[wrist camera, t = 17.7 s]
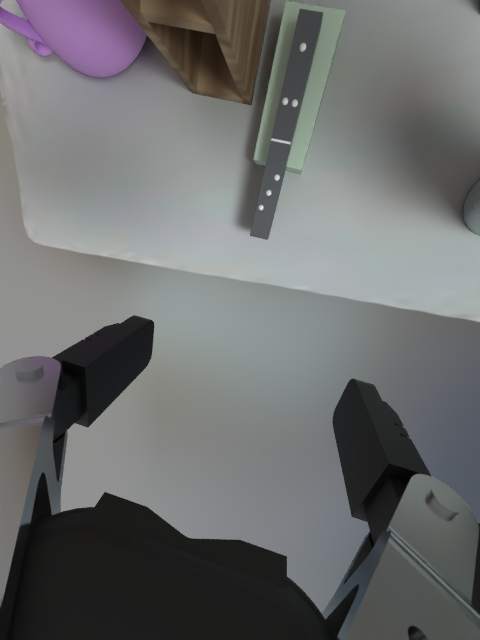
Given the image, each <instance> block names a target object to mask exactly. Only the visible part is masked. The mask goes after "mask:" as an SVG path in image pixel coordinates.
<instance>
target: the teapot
mask: <svg viewBox="0 0 480 640" xmlns="http://www.w3.org/2000/svg"><path fill="white" fill-rule="evenodd" d="M1 1H2V0H0V3H1ZM16 1H17V2H18V4H19V6H20V8H21V9H22V11H23V13H24V14H25V16H26V17H27V19H28V20H29V21H27V20H25V19H23V18H20V17H18V16H16V15H14V14H12V13H10V12H8V11H6V10H4V9H3V8H1V7H0V23H2V24H3V25H4V26H5V27H7V28H9V29H10V30H12V31H14V32H16V33H18V34H20V35H23V36H25V37H26V38H27V42H28V44H29V46H30V47H31V48H32V49H33V51H34V52H36V53H37V54H39V55H41V56H48V55H51V54H52V53H53V52H55V53H56V54H57V55H58V56H59V57H60V58H61V59H62V60H64V61H65V62H66V63H68V64H69V65H70V66H71V67H73V68H74V69H75V70H77V71H79V72H81V73H83V74H86V75H88V76H93V77H110V76H113V75H116V74H118V73H120V72H122V71H123V70H125V69H126V68H127V67H128V66H129V65H130V64H131V63H132V62H133V61H134V60H135V59H136V57H137V56H138V54H139V53H140V51H141V49H142V47H143V45H144V43H145V40H146V37H147V34H146V33H145V32H144V30H143V29H142V28H141V26H140V25H139V24H138V23H137V21H136V20H135V19H134V17H133V16H132V15H131V14H130V12H129V11H128V10H127V8H126V7H125V6H124V5H123V3H122V2H121V1H120V0H16Z"/></svg>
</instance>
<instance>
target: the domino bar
mask: <svg viewBox="0 0 480 640" xmlns="http://www.w3.org/2000/svg"><path fill="white" fill-rule="evenodd" d="M322 18H323V12H318V11H312V10H306V9H300V10H299V14H298V19H297V23H296V28H295V33H294V37H293V42H292V46H291V51H290V55H289V60H288V64H287V69H286V74H285V78H284V83H283V87H282V92H281V96H280V101H279V105H278V110H277V115H276V119H275V124H274V128H273V133H272V137H271V142H270V146H269V151H268V156H267V160H266V165H265V169H264V174H263V178H262V183H261V187H260V192H259V197H258V201H257V206H256V210H255V215H254V219H253V224H252V228H251V233H250V236H254V237H258V238H262V239H266V240H267V239H268V238H269V234H270V230H271V226H272V222H273V218H274V214H275V210H276V206H277V202H278V198H279V194H280V190H281V186H282V182H283V178H284V174H285V170H286V166H287V162H288V158H289V154H290V150H291V146H292V142H293V138H294V134H295V130H296V126H297V122H298V118H299V114H300V110H301V106H302V102H303V98H304V94H305V90H306V86H307V82H308V78H309V74H310V70H311V66H312V62H313V58H314V54H315V50H316V46H317V42H318V38H319V34H320V30H321V24H322Z"/></svg>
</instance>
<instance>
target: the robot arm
mask: <svg viewBox="0 0 480 640" xmlns="http://www.w3.org/2000/svg"><path fill="white" fill-rule="evenodd" d="M463 216H464V220H465V223H466V225H467V226H468V228H469V229H470V230H471V231H473V232H474V233H476V234H478V235H480V180H479V181H478V182H477V183H476V184H475V185H474V186H473V188H472V189H471V191H470V192H469V194H468V196H467V198H466V201H465V204H464V209H463ZM153 335H154V322H153V321H152V320H149V319H145V318H142V317H139V316H132V317H130V318H128V319H127V320H125V321H124V322H122V323H120V324H119V323H117V324H113V325H109V326H106V327H103V328H102V329H100V330H98V331H97V332H95V333H94V334H92V335H90V336H88V337H86V338H85V340H81V341H80V342H78V343H76V344H75V345H73V346H71V347H69V348H68V349H66V350H64V351H63V352H61V353H59V354H57V355H56V356H54V357H52V358H50V357H44V356H36V357H35V356H34V357H27V358H22V359H18V360H15V361H12V362H10V363H8V364H6V365H4V366H3V367H2V368H0V640H480V524H479V523H478V522H477V520H476V517H475V516H474V514H473V512H472V511H471V509H470V508H469V506H468V505H467V504H466V503H465V502H464V500H463V499H462V498H461V497H460V496H459V495H458V494H457V493H456V492H454V491H453V490H452V489H451V488H449V487H448V486H447V485H445V484H444V483H442V482H441V481H439V480H437V479H435V478H433V477H431V475H430V473H429V471H428V469H427V468H426V466H425V464H424V462H423V460H422V459H421V457H420V455H419V453H418V451H417V449H416V448H415V446H414V444H413V442H412V440H411V439H409V435H408V433H407V431H406V429H405V428H403V427H404V426H403V424H402V422H401V420H400V419H399V416H398V415H397V413H396V412H395V411H394V410H393V409H392V408H391V407H390V406H389V405H388V404H387V403H386V402H384V401H382V399H381V397H380V395H379V394H378V391H377V390H376V387H375V386H374V385H373V384H370V383H366V382H363V381H359V380H356V379H351V380H350V381H349V382H348V384H347V386H346V388H345V390H344V392H343V394H342V396H341V398H340V400H339V402H338V404H337V406H336V408H335V411H334V415H333V428H334V433H335V438H336V443H337V447H338V452H339V457H340V462H341V467H342V472H343V476H344V481H345V486H346V490H347V496H348V500H349V505H350V510H351V515H352V517H355V518H358V519H360V520H363V521H367V522H368V525H369V528H370V531H369V532H368V534H367V535H366V536H365V538H364V540H363V542H362V544H361V545H360V547H359V549H358V551H357V553H356V555H355V557H354V559H353V560H352V562H351V564H350V566H349V568H348V570H347V572H346V574H345V575H344V577H343V579H342V581H341V583H340V585H339V587H338V589H337V590H336V592H335V594H334V595H333V597H332V598H331V600H330V602H329V603H328V604H327V606H326V607H325V609H324V610H323V612H322V614H321V612H320V611H319V609H318V608H317V607H316V605H315V604H314V603H313V601H312V600H311V599H310V598H309V597H308V596H307V595H306V593H305V592H304V591H303V590H302V589H301V588H300V587H299V586H298V585H296V583H294V582H293V581H292V580H291V579H290V578H288V577H287V556H284V555H281V554H278V553H275V552H272V551H270V550H267V549H264V548H261V547H258V546H256V545H252V544H250V543H247V542H244V541H241V540H221V539H191V538H188V537H186V536H184V535H183V534H181V533H180V532H179V531H177V530H176V529H175V528H174V527H172V526H171V525H170V524H168V523H167V522H166V521H164V520H163V519H162V518H161V517H159V516H158V515H157V514H155V513H154V512H153V511H152V510H150V509H149V508H148V507H146V506H143V505H140V504H137V503H134V502H131V501H129V500H126V499H123V498H120V497H117V496H114V495H112V494H109V493H106V492H105V493H104V494H103V495H102V497H101V498H100V500H99V501H98V503H97V504H96V506H95V507H87V508H77V509H73V510H68V511H63V512H61V504H60V503H61V502H60V501H61V486H62V477H63V469H64V461H65V453H66V445H67V437H68V435H67V434H68V433H67V429H69V428H70V427H71V426H72V425H73V424H74V423H76V424H79V425H83V426H85V427H89V426H90V425H91V424H92V423H93V422H94V421H95V420H96V419H97V418H98V417H99V416H100V415H101V413H103V411H104V410H105V409H106V408H107V407H108V406H109V405H110V404H111V403H112V402H113V401H114V400H115V399H116V398H117V397H118V396H119V395H120V394H121V393H122V392H123V391H124V390H125V389H126V388H127V386H129V384H130V383H131V382H132V381H133V380H134V379H135V378H136V377H137V376H138V375H139V374H140V373H141V372H142V371H143V370H144V369H145V368H146V367H147V365H148V363H149V361H150V359H151V355H152V347H153Z"/></svg>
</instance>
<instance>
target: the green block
mask: <svg viewBox="0 0 480 640" xmlns="http://www.w3.org/2000/svg"><path fill="white" fill-rule="evenodd" d="M300 9H306V10H312V11H318V12H323V18H322V24H321V30H320V34H319V38H318V42H317V46H316V50H315V54H314V58H313V62H312V66H311V70H310V74H309V78H308V82H307V86H306V90H305V94H304V98H303V102H302V106H301V110H300V114H299V118H298V122H297V126H296V130H295V134H294V138H293V142H292V146H291V150H290V154H289V158H288V162H287V166H286V170H285V171H289V172H293V173H298V174H301V171H302V168H303V164H304V160H305V157H306V153H307V150H308V146H309V142H310V139H311V135H312V132H313V128H314V124H315V121H316V117H317V114H318V110H319V106H320V103H321V99H322V96H323V92H324V88H325V85H326V81H327V77H328V74H329V70H330V67H331V63H332V59H333V56H334V52H335V49H336V45H337V41H338V38H339V34H340V31H341V27H342V23H343V19H344V16H345V12H346V10H340V9H334V8H328V7H322V6H316V5H310V4H304V3H298V2H292V1H286V2H285V7H284V12H283V17H282V22H281V27H280V31H279V36H278V41H277V46H276V51H275V56H274V61H273V66H272V71H271V75H270V80H269V85H268V90H267V95H266V100H265V105H264V110H263V115H262V120H261V124H260V129H259V134H258V139H257V144H256V149H255V154H254V159H253V160H254V161H255V163H256V164H257V165H262V166H265V165H266V160H267V156H268V151H269V146H270V142H271V137H272V133H273V128H274V124H275V119H276V115H277V110H278V105H279V101H280V96H281V92H282V87H283V83H284V78H285V74H286V69H287V64H288V60H289V55H290V51H291V46H292V42H293V37H294V33H295V28H296V23H297V19H298V14H299V10H300Z"/></svg>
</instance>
